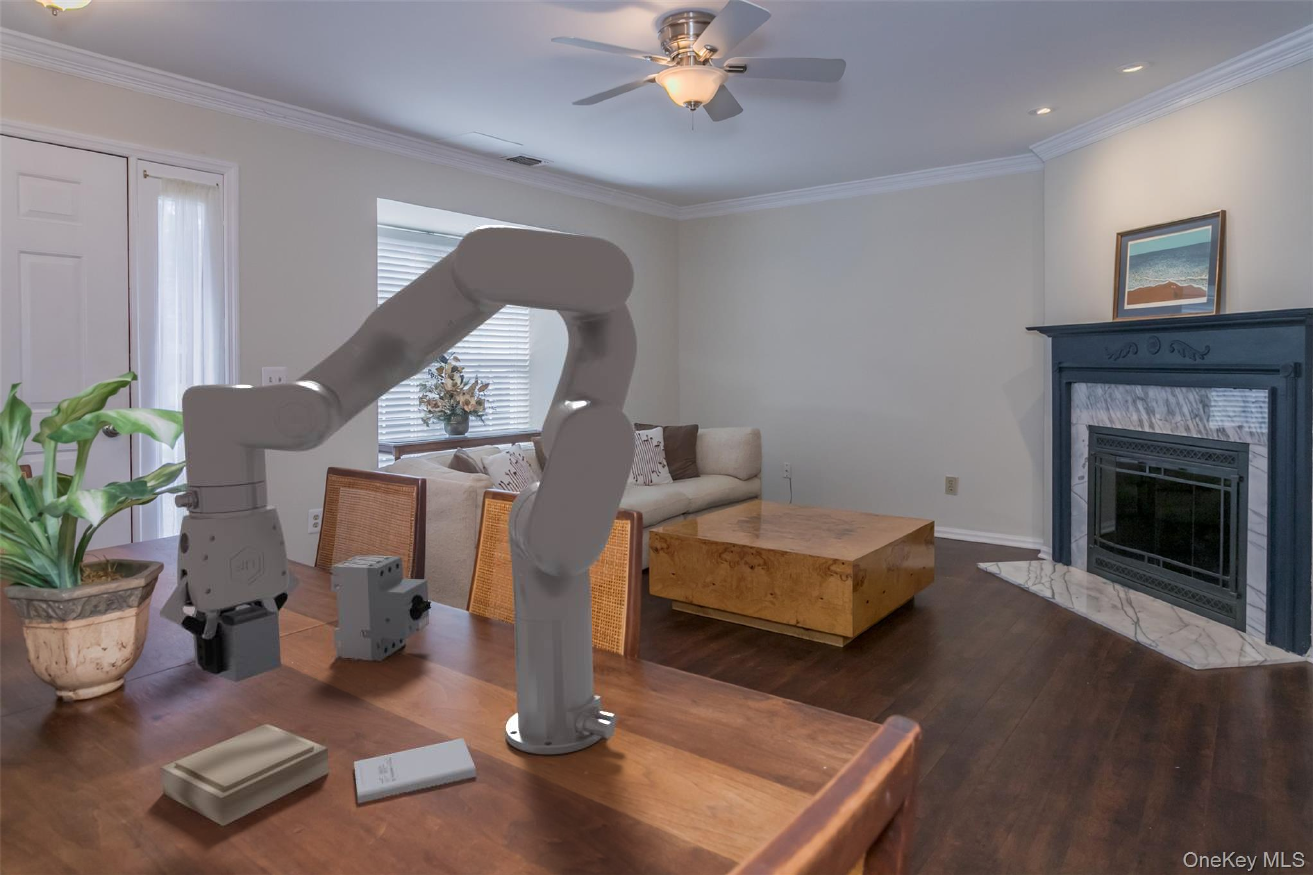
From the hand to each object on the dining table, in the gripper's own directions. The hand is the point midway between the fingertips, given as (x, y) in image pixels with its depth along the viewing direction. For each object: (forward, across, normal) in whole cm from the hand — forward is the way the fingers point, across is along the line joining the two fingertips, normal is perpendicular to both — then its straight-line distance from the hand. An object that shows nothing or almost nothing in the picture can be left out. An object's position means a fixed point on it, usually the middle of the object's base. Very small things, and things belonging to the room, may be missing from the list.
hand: (238, 660), depth 85 cm
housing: (+1, 0, 0) cm, 1 cm away
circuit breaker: (+14, +35, +20) cm, 43 cm away
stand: (+14, 0, 0) cm, 14 cm away
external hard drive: (+15, +11, -14) cm, 23 cm away
